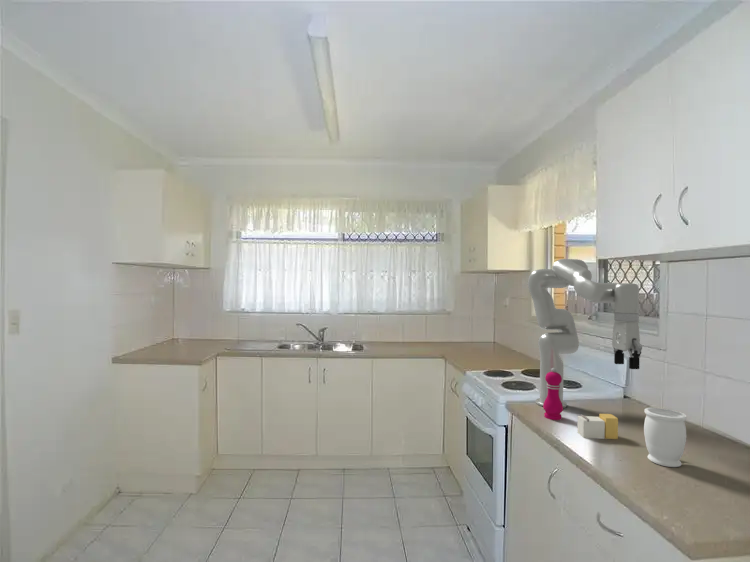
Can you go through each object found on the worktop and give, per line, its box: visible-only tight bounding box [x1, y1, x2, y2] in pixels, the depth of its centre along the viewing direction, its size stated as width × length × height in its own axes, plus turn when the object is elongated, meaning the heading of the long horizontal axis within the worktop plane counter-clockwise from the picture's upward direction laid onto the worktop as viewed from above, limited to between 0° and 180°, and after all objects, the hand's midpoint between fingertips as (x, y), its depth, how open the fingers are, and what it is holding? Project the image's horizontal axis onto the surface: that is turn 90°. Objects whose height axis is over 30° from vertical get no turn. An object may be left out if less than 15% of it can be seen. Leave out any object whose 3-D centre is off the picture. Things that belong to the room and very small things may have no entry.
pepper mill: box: [542, 368, 564, 421], centre depth 168 cm, size 7×7×20 cm
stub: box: [598, 413, 619, 440], centre depth 149 cm, size 5×4×7 cm
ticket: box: [577, 414, 605, 440], centre depth 149 cm, size 5×7×6 cm
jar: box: [643, 407, 687, 468], centre depth 129 cm, size 11×10×15 cm
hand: (626, 366), depth 151 cm, fingers open, 9 cm apart
